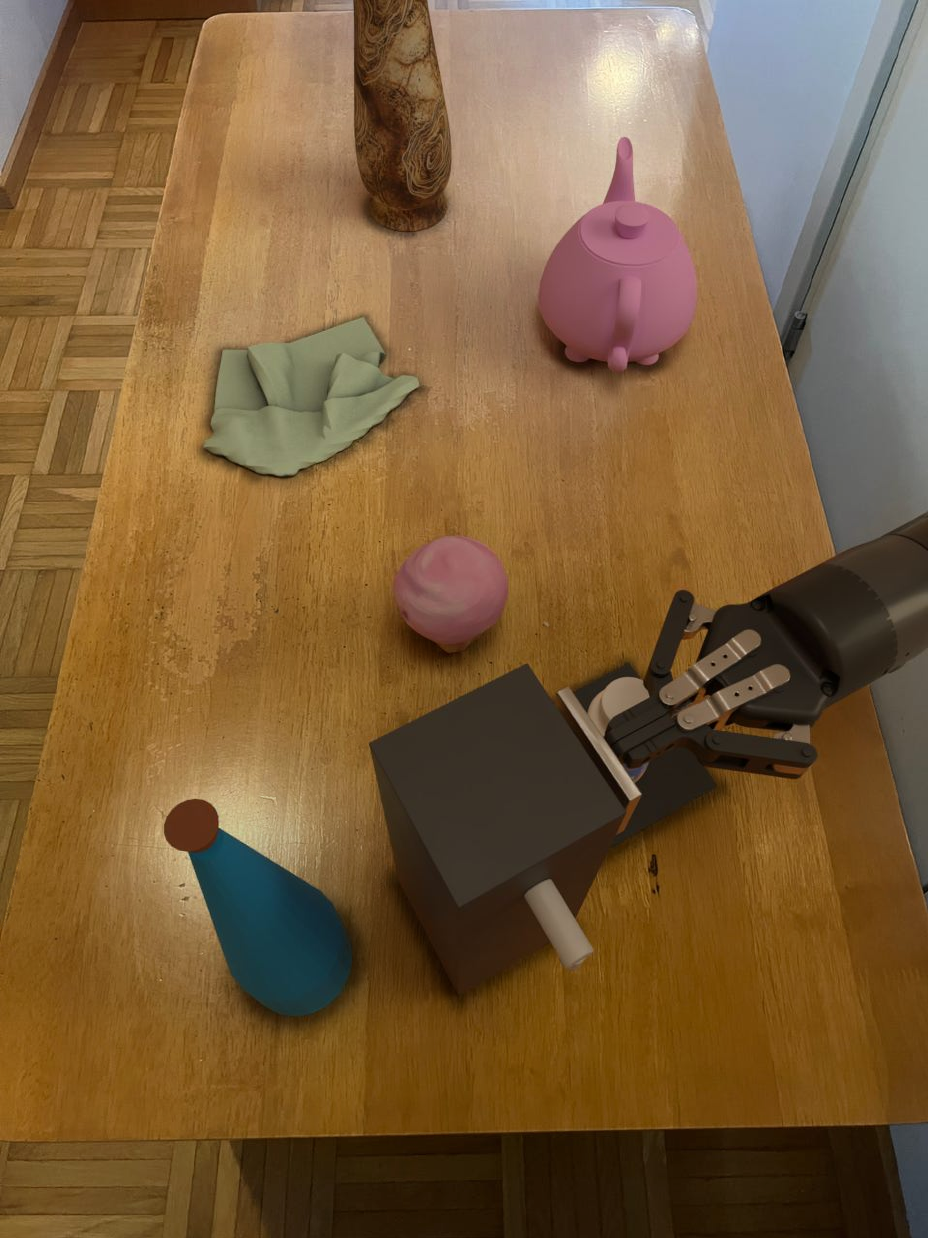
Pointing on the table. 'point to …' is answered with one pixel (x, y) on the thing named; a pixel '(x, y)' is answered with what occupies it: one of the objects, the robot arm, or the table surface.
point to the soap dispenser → (495, 826)
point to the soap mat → (655, 771)
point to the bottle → (264, 917)
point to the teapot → (619, 279)
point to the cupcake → (451, 591)
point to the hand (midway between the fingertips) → (610, 751)
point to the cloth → (302, 399)
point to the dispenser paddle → (599, 752)
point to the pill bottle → (618, 708)
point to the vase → (400, 114)
